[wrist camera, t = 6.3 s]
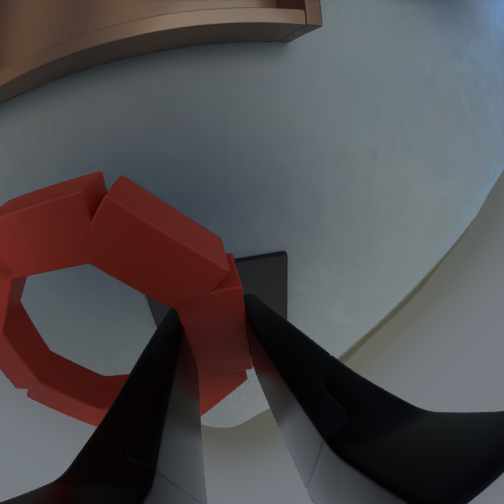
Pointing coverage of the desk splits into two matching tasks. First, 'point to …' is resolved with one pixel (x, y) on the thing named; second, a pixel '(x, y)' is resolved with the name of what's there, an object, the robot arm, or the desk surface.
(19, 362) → the red ring
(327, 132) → the desk surface
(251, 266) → the mat
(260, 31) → the crate
